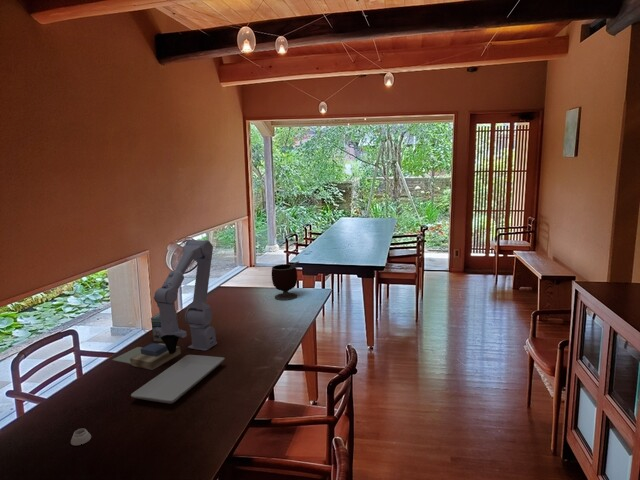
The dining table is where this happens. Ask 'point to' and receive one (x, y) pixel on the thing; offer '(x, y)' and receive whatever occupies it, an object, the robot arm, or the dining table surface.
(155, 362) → the deck
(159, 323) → the light bulb box
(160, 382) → the tray
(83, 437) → the lidless jar
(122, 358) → the mat
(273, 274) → the mate gourd
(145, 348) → the blue-grey flat block
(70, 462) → the dining table surface
